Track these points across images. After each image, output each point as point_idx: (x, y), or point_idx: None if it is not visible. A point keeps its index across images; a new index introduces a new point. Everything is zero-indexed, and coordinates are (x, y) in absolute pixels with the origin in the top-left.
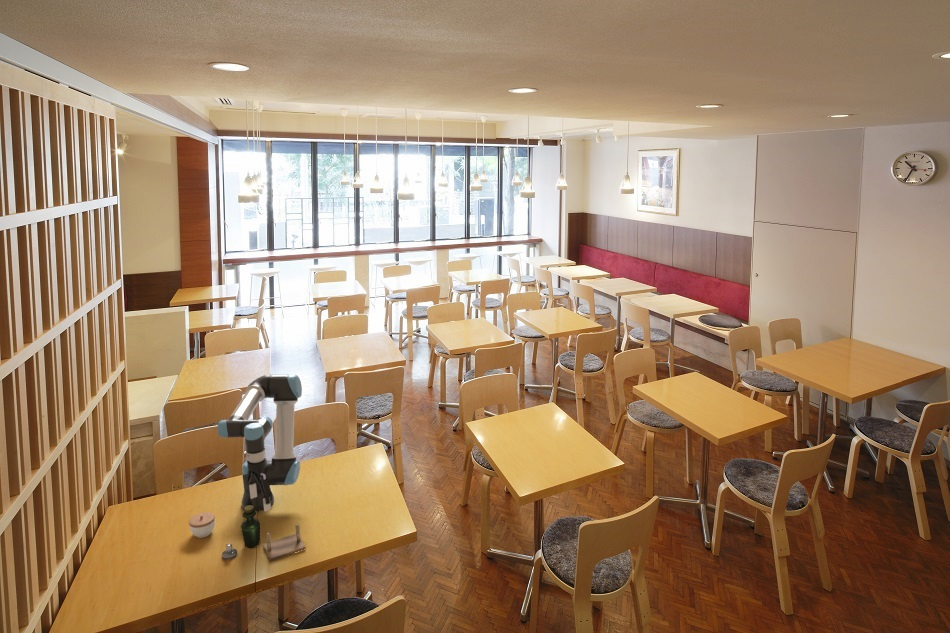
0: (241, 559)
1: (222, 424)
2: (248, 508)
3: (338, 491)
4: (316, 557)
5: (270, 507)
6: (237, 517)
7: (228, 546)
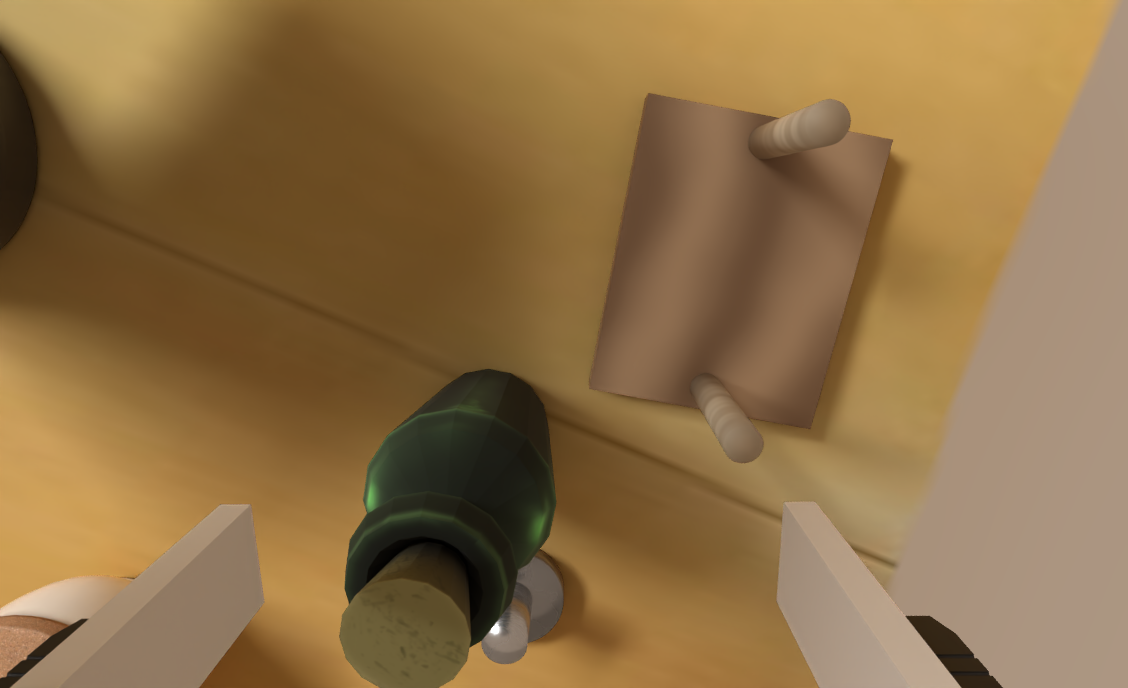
0: (618, 550)
1: None
2: (426, 651)
3: None
4: (1040, 123)
5: (829, 525)
6: (40, 363)
7: (523, 652)
